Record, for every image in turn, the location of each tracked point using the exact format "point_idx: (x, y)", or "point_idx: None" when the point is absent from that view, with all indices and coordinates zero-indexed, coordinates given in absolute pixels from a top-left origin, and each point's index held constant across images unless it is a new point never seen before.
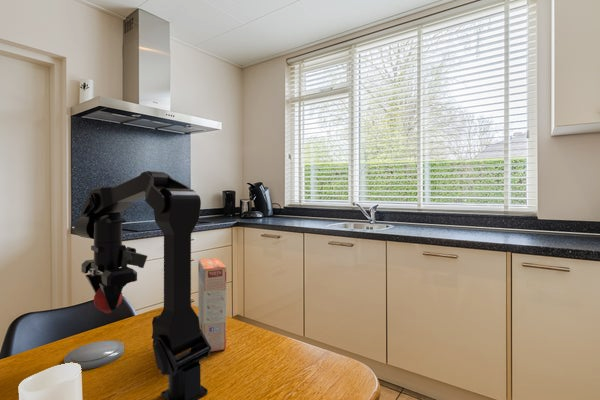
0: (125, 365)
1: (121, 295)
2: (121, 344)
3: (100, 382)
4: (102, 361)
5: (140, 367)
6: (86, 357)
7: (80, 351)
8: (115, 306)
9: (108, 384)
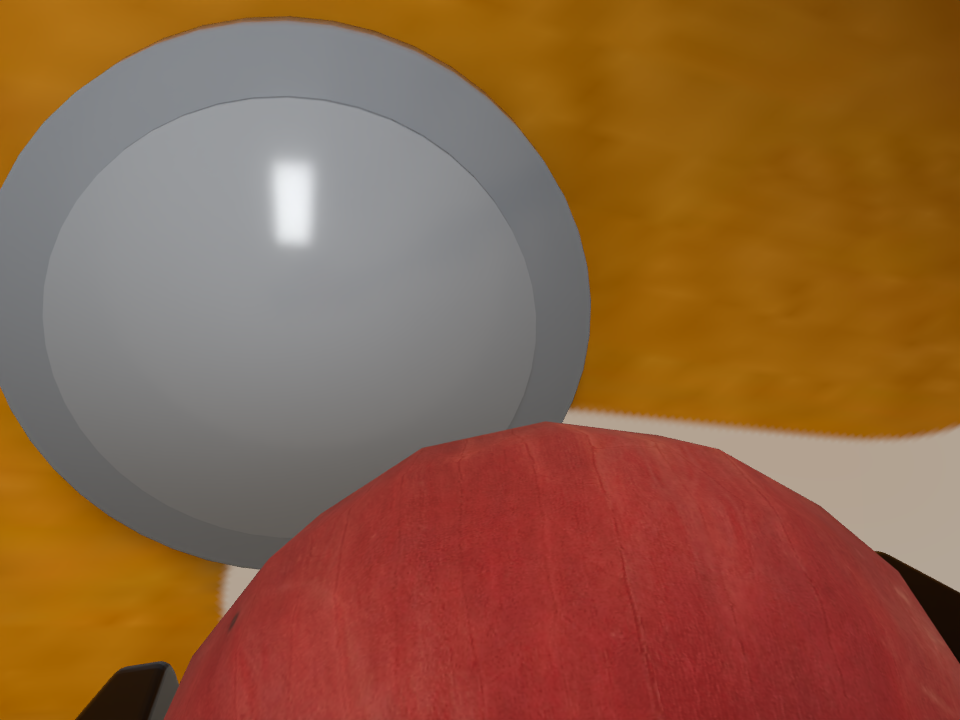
0: (751, 119)
1: (887, 606)
2: (288, 48)
3: (865, 359)
4: (587, 314)
5: (926, 8)
6: (425, 433)
7: (215, 460)
8: (937, 603)
9: (952, 318)
